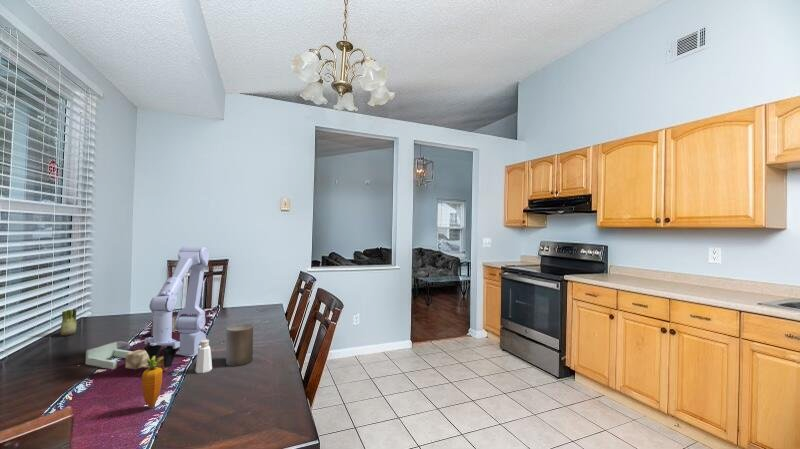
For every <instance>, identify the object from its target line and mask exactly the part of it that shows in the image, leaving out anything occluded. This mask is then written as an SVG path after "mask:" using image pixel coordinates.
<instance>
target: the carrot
mask: <svg viewBox="0 0 800 449" xmlns="http://www.w3.org/2000/svg"><path fill="white" fill-rule="evenodd" d="M162 359H163V358H160V359H159V360H158V361H157V362H155V356H153V357H152V359H151V361H150V358H149V359H148V360H147V362H148V364H149V365H148V366H150V368H146V369H145V370H144V371H143V373H142V376H141V391H142V395H143V399H144V401H145V404H146V405H147V407H148V408H149V409H153V408H154V406H155V405H156V403H157V401H158V399H159V396H160V392H161V389H162V386H163V385H162V382H163V372H164V371H163V370H162V369H161V368H158V367H156V366H157V364H158V363H159V362H160V361H161V360H162Z"/></svg>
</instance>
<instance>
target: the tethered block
mask: <svg viewBox="0 0 800 449" xmlns="http://www.w3.org/2000/svg"><path fill="white" fill-rule="evenodd" d="M160 358H163V359H162V360H161V361H160V362H159V363H158V364H157V366H156V367H158V368H161V369H162V370H163V372H164V371H167V370H169V367H167V368H165V366H164V357H163V355H162V356H159V358H157V359H155V362H157V361H158V360H159V359H160ZM148 359H150V358H149V356H148V354H147V352H146V350H145V349H137V350H133V352H131V353H128V354H126V358H125V368H126V369H131V370H138V369H140V368H144V369H149V368H150V366H149V364H148V362H147V360H148Z"/></svg>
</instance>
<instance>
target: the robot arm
mask: <svg viewBox="0 0 800 449" xmlns="http://www.w3.org/2000/svg"><path fill="white" fill-rule="evenodd" d="M177 260H178V262H177V264H176V267H175V268H174V271H173V273H172V276H171V277H169V278H167V279H166V280H165V282H164V284H163V285H162V287H161V289H160V291H159V292H158V294H157V295H156V296H154V297H152V299H151V300H150V303H149V305H148V306H149V309H150V311H151V316H152V318H153V319H152V321H153V337H152V336H149V337H146V338H144V345H146V346H144V347H143V350H146V352H147V354H148V356H149V359H150V361H151V359H152V357H153V356H155V359H157V358H159V357H160V352H161V353H162V356H163V357H164V366H165V368H167V367H168V368H169V367H171V366H172V364H173V362H174V358H175V356H176V355H180V356H184V357H185V356H186V357H195V356H198V349H199V348H200V346H201V345H200V344H201V343H200V341H201V340H205V339H207V335H206V333H205V332H203V331H202V330H203V328H204V327H205V325H206V311H205V310H204V309H202V308H201V307H200V302H201V297H202V296H201V295H202V290H203V282H204V277H205V276H204V275H205V269H206V268H207V267H209V264H208V263H209V260H210V251H209V249H208V248H207V247H206V246H202V247H201V246H198V247H197V246H182V247H180V249H179V251H178V252H177ZM189 269H190V270H189ZM188 271H190V273H189V279H188V284H187V285H188V286H187V293H186V298H185V305H184V307H183V308H182V309H181V310H179V311H178V312H177V315H176V316H177V318H176V320H175V328H176V329H177V330H178V333H179V341H178V340H176V339H174V338H172V335H173V333H172V317H173V311H174V309H175V308H176V307H177V304H178V302H177V301H178V295H179V293H180V291H181V288H182V287H183V281H182V280H183V278H185V276H186V274H187V273H188ZM162 347H165V348H162Z"/></svg>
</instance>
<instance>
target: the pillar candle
mask: <svg viewBox="0 0 800 449" xmlns="http://www.w3.org/2000/svg"><path fill="white" fill-rule="evenodd" d="M225 343H226V344H225V346H226V347H225V348H226V349H225V350H226V351H225V365H227V366H231V367H238V366H243V365H244V366H245V365H247V364H250V363H252V362H253V360H254V358H253V355H254V325H253V324H252V323H241V322H240V323H235V324H232V325H230V326H227V327H226V342H225Z"/></svg>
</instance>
